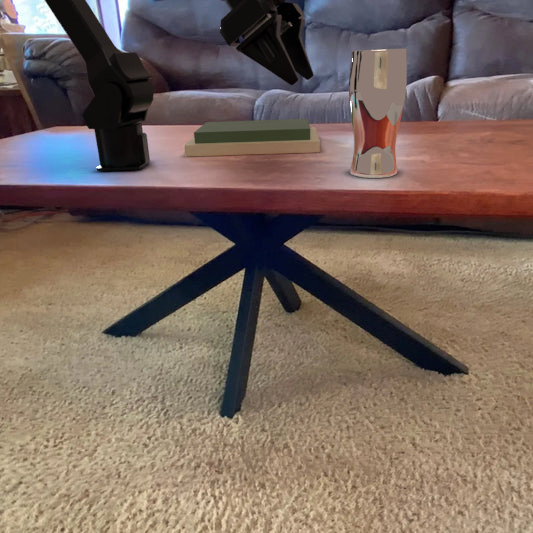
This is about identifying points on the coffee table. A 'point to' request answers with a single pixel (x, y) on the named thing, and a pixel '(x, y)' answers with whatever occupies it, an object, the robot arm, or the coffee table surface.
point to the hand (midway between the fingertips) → (303, 80)
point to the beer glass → (376, 109)
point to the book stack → (253, 138)
